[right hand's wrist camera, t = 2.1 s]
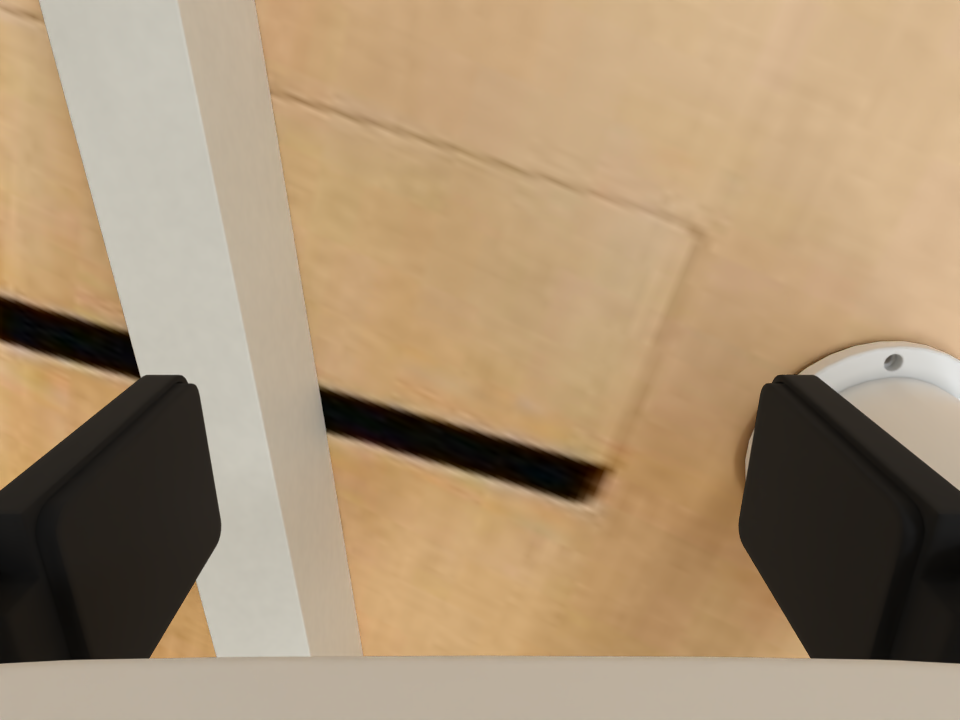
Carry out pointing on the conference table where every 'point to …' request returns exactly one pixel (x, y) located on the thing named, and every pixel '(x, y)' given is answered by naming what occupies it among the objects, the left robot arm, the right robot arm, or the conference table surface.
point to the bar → (215, 295)
